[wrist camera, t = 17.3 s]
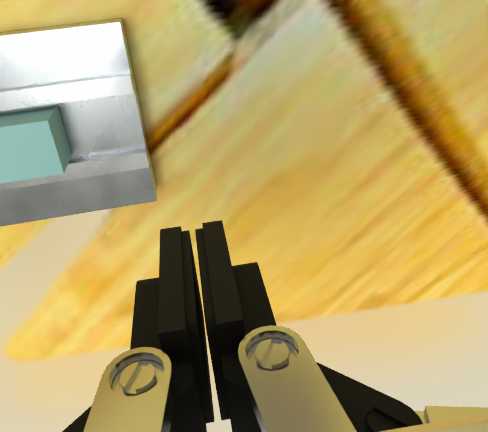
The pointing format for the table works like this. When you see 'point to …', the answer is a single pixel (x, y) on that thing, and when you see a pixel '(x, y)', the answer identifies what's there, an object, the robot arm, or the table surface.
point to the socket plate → (77, 119)
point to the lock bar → (32, 144)
